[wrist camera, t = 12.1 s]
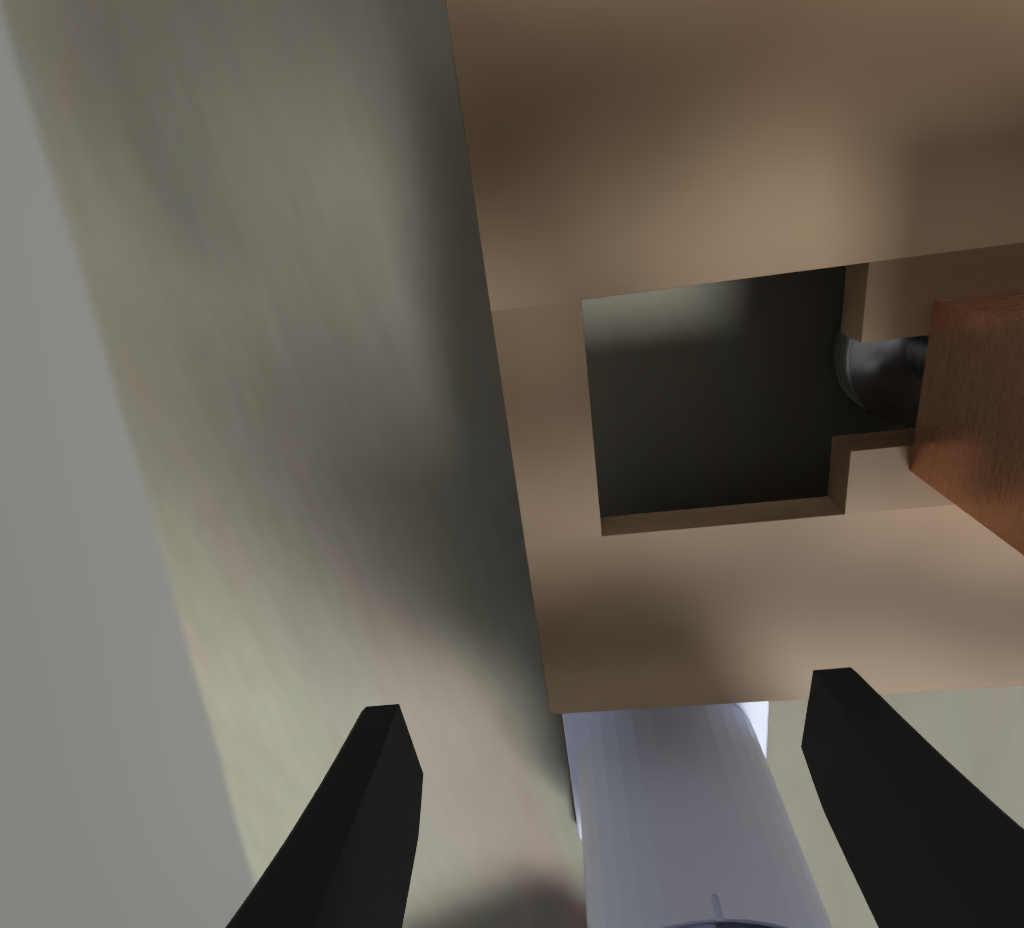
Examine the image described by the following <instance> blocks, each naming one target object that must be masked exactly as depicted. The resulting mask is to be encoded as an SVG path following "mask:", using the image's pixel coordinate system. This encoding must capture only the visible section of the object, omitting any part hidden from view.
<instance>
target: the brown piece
mask: <svg viewBox="0 0 1024 928" xmlns="http://www.w3.org/2000/svg"><path fill="white" fill-rule="evenodd" d="M841 326H842V323H841ZM841 326H840V328H839V330H838V334H837V337H836V341H835V347H834V365H835V371H836V375H837V378H838V380H839V383H840V385H841V387H842V388H843V390H844V391H845V392H846V394H847V395H848V396H849V397H850V398H851V399H852V400H853V401H854V402H856V403H857V404H858V405H860V406H861V407H863V408H864V409H866V410H867V411H869V412H871V413H872V414H874V415H875V416H877V417H879V418H880V419H882V420H884V421H887V422H889V423H892V424H896V425H901V426H909V427H916V431H915V438H914V445H913V452H912V459H911V466H910V471H911V472H912V473H913V474H915V475H916V476H917V477H919V478H920V479H921V480H923V481H924V482H925V483H927V484H928V485H929V486H931V487H932V488H933V489H935V490H936V491H938V492H939V493H940V494H942V495H943V496H944V497H946V498H947V499H948V500H950V501H951V502H952V503H954V504H955V505H956V506H958V507H959V508H960V509H962V510H963V511H964V512H966V513H967V514H968V515H970V516H971V517H973V518H974V519H975V520H977V521H978V522H979V523H981V524H982V525H983V526H985V527H986V528H987V529H989V530H990V531H991V532H993V533H994V534H995V535H997V536H998V537H999V538H1001V539H1002V540H1003V541H1005V542H1006V543H1008V544H1009V545H1010V546H1012V547H1013V548H1014V549H1016V550H1017V551H1018V552H1020V553H1021V554H1022V555H1024V290H1017V291H1009V292H1001V293H992V294H984V295H976V296H967V297H959V298H951V299H942V300H934V304H933V311H932V318H931V325H930V332H929V335H925V336H916V337H908V338H899V339H891V340H882V341H874V342H865V343H860V342H858V341H856V340H854V339H852V338H849V337H847V336H845V335H843V334H841Z"/></svg>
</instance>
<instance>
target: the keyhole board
mask: <svg viewBox="0 0 1024 928" xmlns="http://www.w3.org/2000/svg"><path fill="white" fill-rule="evenodd" d="M445 2H446V8H447V15H448V22H449V29H450V36H451V43H452V49H453V56H454V63H455V70H456V77H457V83H458V90H459V97H460V104H461V111H462V118H463V124H464V131H465V138H466V145H467V152H468V158H469V165H470V172H471V179H472V186H473V193H474V199H475V206H476V213H477V220H478V227H479V233H480V240H481V247H482V254H483V261H484V268H485V274H486V281H487V288H488V295H489V302H490V308H491V315H492V322H493V329H494V336H495V343H496V349H497V356H498V363H499V370H500V377H501V383H502V390H503V397H504V404H505V411H506V417H507V424H508V431H509V438H510V445H511V452H512V458H513V465H514V472H515V479H516V486H517V492H518V499H519V506H520V513H521V520H522V527H523V533H524V540H525V547H526V554H527V561H528V567H529V574H530V581H531V588H532V595H533V602H534V608H535V615H536V622H537V629H538V636H539V642H540V649H541V656H542V663H543V670H544V677H545V683H546V690H547V697H548V704H549V711H550V714H565V713H581V712H597V711H614V710H630V709H647V708H663V707H680V706H696V705H713V704H729V703H745V702H762V701H778V700H795V699H809V694H810V688H811V681H812V675H813V670H822V669H834V668H846V667H851V668H852V669H854V670H855V671H856V672H857V673H858V674H859V675H860V676H861V677H862V678H863V679H864V680H865V681H866V682H867V683H868V684H869V685H870V686H871V687H872V688H873V689H874V690H875V691H876V692H877V693H878V694H893V693H910V692H926V691H943V690H959V689H975V688H992V687H1008V686H1024V555H1022V554H1021V553H1020V552H1018V551H1017V550H1016V549H1014V548H1013V547H1012V546H1010V545H1009V544H1008V543H1006V542H1005V541H1003V540H1002V539H1001V538H999V537H998V536H997V535H995V534H994V533H993V532H991V531H990V530H989V529H987V528H986V527H985V526H983V525H982V524H981V523H979V522H978V521H977V520H975V519H974V518H973V517H971V516H970V515H968V514H967V513H966V512H964V511H963V510H962V509H960V508H959V507H958V506H956V505H955V504H954V503H952V502H951V501H950V500H948V499H947V498H946V497H944V496H943V495H942V494H940V493H939V492H938V491H936V490H935V489H933V488H932V487H931V486H929V485H928V484H927V483H925V482H924V481H923V480H921V479H920V478H919V477H917V476H916V475H915V474H913V473H912V472H911V471H910V466H911V459H912V452H913V445H914V438H915V431H916V428H909V429H899V430H889V431H879V432H870V433H860V434H850V435H840V436H832V448H831V460H830V473H829V485H828V496H825V497H814V498H803V499H793V500H782V501H771V502H761V503H750V504H739V505H728V506H718V507H707V508H696V509H685V510H675V511H664V512H653V513H643V514H632V515H621V516H610V517H600V510H599V498H598V487H597V476H596V464H595V453H594V441H593V430H592V418H591V407H590V396H589V384H588V373H587V361H586V350H585V338H584V327H583V315H582V304H581V300H583V299H591V298H599V297H606V296H614V295H622V294H630V293H637V292H645V291H653V290H660V289H668V288H676V287H683V286H691V285H699V284H706V283H714V282H722V281H729V280H737V279H745V278H753V277H760V276H768V275H776V274H783V273H791V272H799V271H806V270H814V269H822V268H829V267H837V266H845V265H846V277H845V289H844V301H843V314H842V326H841V334H843V335H845V336H847V337H849V338H852V339H854V340H856V341H858V342H860V343H865V342H874V341H882V340H891V339H899V338H908V337H916V336H925V335H929V332H930V325H931V318H932V311H933V304H934V300H942V299H951V298H959V297H967V296H976V295H984V294H992V293H1001V292H1009V291H1017V290H1024V0H445Z"/></svg>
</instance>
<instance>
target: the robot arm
mask: <svg viewBox="0 0 1024 928" xmlns="http://www.w3.org/2000/svg"><path fill="white" fill-rule="evenodd" d="M768 713H769V701H762V702H745V703H729V704H713V705H696V706H680V707H663V708H647V709H630V710H614V711H597V712H581V713H565V714H562V717H563V725H564V732H565V739H566V747H567V754H568V761H569V769H570V776H571V783H572V791H573V798H574V805H575V813H576V820H577V827H578V835H579V838H580V840H582V845H583V863H584V880H585V898H586V915H587V928H832V926H831V923H830V921H829V918H828V916H827V913H826V911H825V908H824V906H823V903H822V900H821V898H820V895H819V893H818V890H817V888H816V885H815V883H814V880H813V878H812V875H811V873H810V870H809V867H808V865H807V862H806V860H805V857H804V855H803V852H802V850H801V847H800V845H799V842H798V840H797V837H796V835H795V832H794V829H793V827H792V824H791V822H790V819H789V817H788V814H787V812H786V809H785V807H784V804H783V802H782V799H781V796H780V794H779V791H778V789H777V786H776V784H775V781H774V779H773V776H772V774H771V771H770V769H769V766H768V763H767V761H766V757H767V735H768ZM801 747H802V750H803V753H804V756H805V759H806V762H807V765H808V768H809V771H810V774H811V777H812V780H813V783H814V785H815V788H816V791H817V794H818V796H819V799H820V802H821V805H822V807H823V810H824V812H825V815H826V817H827V819H828V821H829V823H830V825H831V828H832V830H833V832H834V834H835V836H836V838H837V840H838V842H839V845H840V847H841V849H842V851H843V853H844V855H845V857H846V860H847V862H848V864H849V866H850V868H851V870H852V872H853V874H854V876H855V879H856V881H857V883H858V885H859V887H860V889H861V891H862V893H863V895H864V897H865V900H866V902H867V904H868V906H869V908H870V910H871V912H872V914H873V916H874V918H875V921H876V923H877V925H878V927H879V928H1024V829H1023V828H1022V827H1020V826H1019V825H1018V824H1017V823H1016V822H1015V821H1013V820H1012V819H1011V818H1010V817H1009V816H1008V815H1007V814H1006V813H1004V812H1003V811H1002V810H1001V809H1000V808H999V807H998V806H996V805H995V804H994V803H993V802H992V801H991V800H990V799H989V798H988V797H986V796H985V795H984V794H983V793H982V792H981V791H980V790H979V789H978V788H977V787H976V786H974V785H973V784H972V783H971V782H970V781H969V780H968V779H967V778H966V777H965V776H964V775H962V774H961V773H960V772H959V771H958V770H957V769H956V768H955V767H954V766H953V765H952V764H950V763H949V762H948V761H947V760H946V759H945V758H944V757H943V756H942V755H941V754H940V753H939V752H938V751H937V750H936V749H934V748H933V747H932V746H931V745H930V744H929V743H928V742H927V741H926V740H925V739H924V738H923V737H922V736H921V735H920V734H919V733H918V732H917V731H916V730H915V729H914V728H913V727H912V726H911V725H910V724H909V723H908V722H906V721H905V720H904V719H903V718H902V717H901V716H900V715H899V714H898V713H897V712H896V711H895V710H894V709H893V708H892V707H891V706H890V705H889V704H888V703H887V702H886V701H885V700H884V699H883V698H882V697H881V696H880V695H879V694H878V693H877V692H876V691H875V690H874V689H873V688H872V687H871V686H870V685H869V684H868V683H867V682H866V681H865V680H864V679H863V678H862V677H861V676H860V675H859V674H858V673H857V672H856V671H855V670H854V669H852V668H851V667H846V668H834V669H822V670H813V675H812V681H811V688H810V694H809V701H808V707H807V713H806V720H805V726H804V733H803V739H802V745H801ZM422 783H423V772H422V769H421V766H420V763H419V760H418V758H417V755H416V752H415V749H414V746H413V743H412V740H411V737H410V734H409V732H408V729H407V726H406V723H405V720H404V717H403V714H402V711H401V708H400V706H399V704H394V705H382V706H370V707H366V708H365V709H364V710H363V711H362V712H361V714H360V716H359V717H358V719H357V721H356V723H355V725H354V726H353V728H352V730H351V732H350V734H349V735H348V737H347V739H346V741H345V743H344V744H343V746H342V748H341V750H340V752H339V753H338V755H337V757H336V758H335V760H334V762H333V764H332V765H331V767H330V769H329V771H328V772H327V774H326V776H325V777H324V779H323V781H322V782H321V784H320V786H319V788H318V789H317V791H316V792H315V794H314V796H313V797H312V799H311V801H310V802H309V804H308V805H307V807H306V809H305V810H304V812H303V813H302V815H301V817H300V818H299V820H298V822H297V823H296V825H295V826H294V828H293V830H292V831H291V833H290V834H289V836H288V837H287V839H286V841H285V842H284V844H283V845H282V847H281V848H280V850H279V851H278V853H277V854H276V856H275V857H274V859H273V860H272V862H271V863H270V865H269V866H268V867H267V869H266V870H265V872H264V873H263V875H262V876H261V878H260V879H259V881H258V882H257V884H256V885H255V887H254V888H253V890H252V891H251V893H250V894H249V896H248V897H247V898H246V900H245V901H244V903H243V904H242V905H241V907H240V908H239V910H238V911H237V912H236V914H235V915H234V917H233V918H232V919H231V921H230V922H229V924H228V925H227V926H226V928H402V924H403V918H404V913H405V908H406V902H407V897H408V891H409V886H410V880H411V875H412V869H413V864H414V858H415V852H416V847H417V841H418V834H419V822H420V811H421V798H422Z"/></svg>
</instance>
